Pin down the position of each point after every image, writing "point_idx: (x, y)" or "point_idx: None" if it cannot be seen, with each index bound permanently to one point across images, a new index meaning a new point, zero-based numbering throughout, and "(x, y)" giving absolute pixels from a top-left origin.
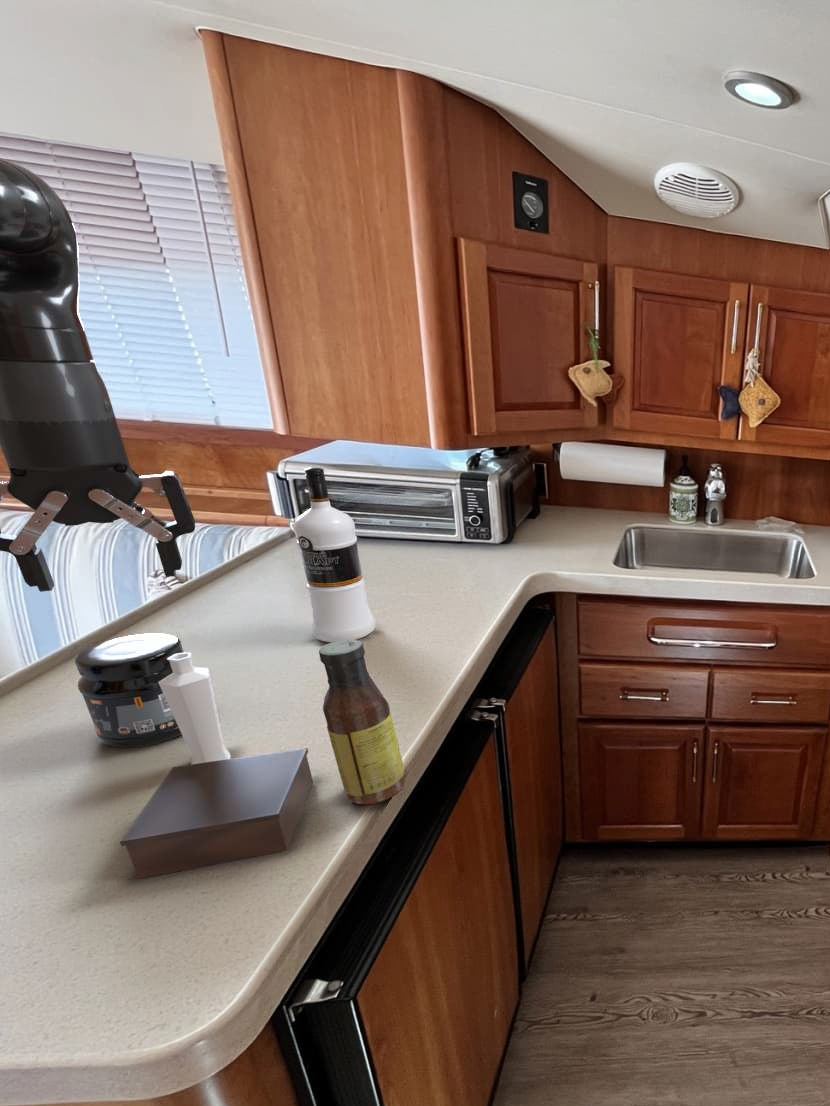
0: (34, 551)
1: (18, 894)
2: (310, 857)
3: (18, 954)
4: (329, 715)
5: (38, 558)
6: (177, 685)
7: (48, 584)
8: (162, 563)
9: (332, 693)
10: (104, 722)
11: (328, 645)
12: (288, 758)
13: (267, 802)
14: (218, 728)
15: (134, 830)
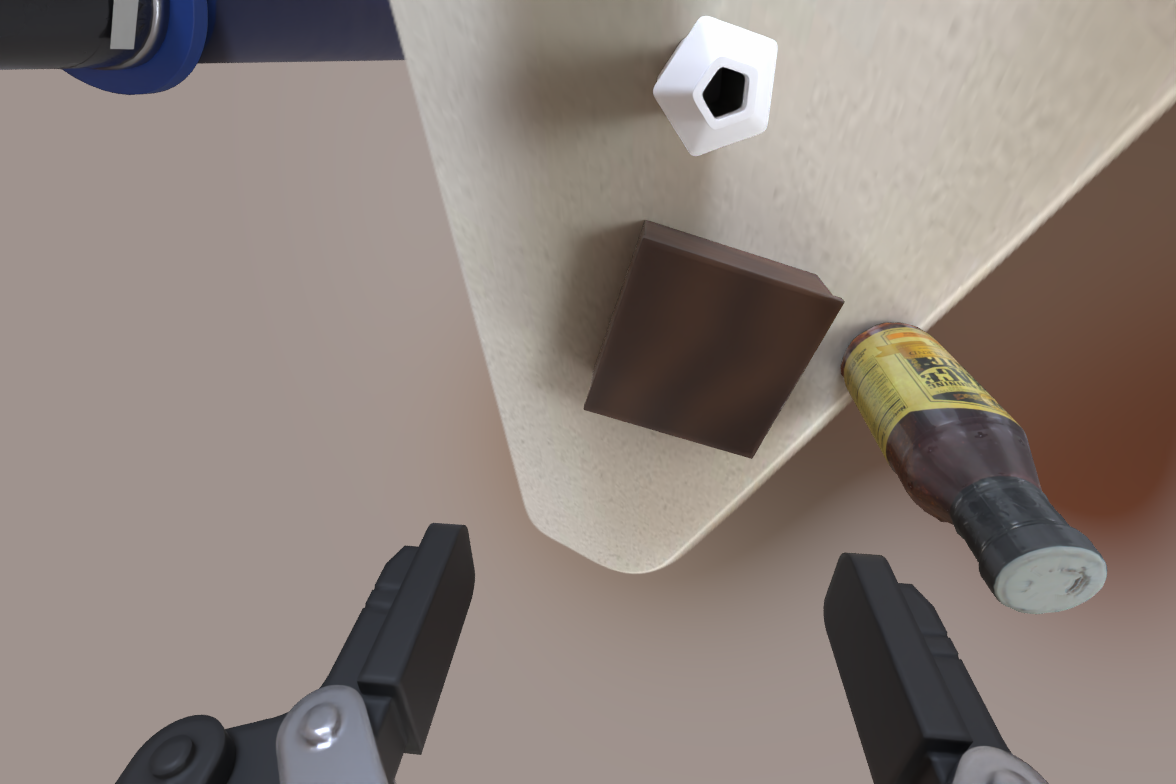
0: (400, 739)
1: (480, 322)
2: None
3: (506, 422)
4: (904, 487)
5: (427, 726)
6: (693, 153)
7: (466, 602)
8: (845, 678)
9: (942, 508)
10: None
11: (1033, 566)
12: (806, 321)
13: (746, 426)
14: (729, 107)
15: (597, 394)
